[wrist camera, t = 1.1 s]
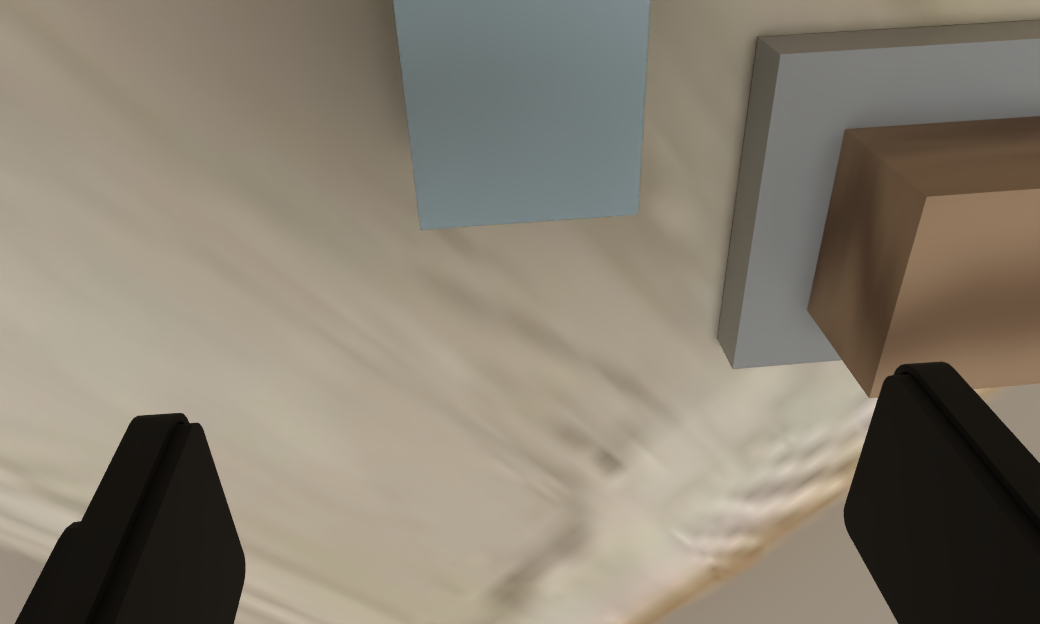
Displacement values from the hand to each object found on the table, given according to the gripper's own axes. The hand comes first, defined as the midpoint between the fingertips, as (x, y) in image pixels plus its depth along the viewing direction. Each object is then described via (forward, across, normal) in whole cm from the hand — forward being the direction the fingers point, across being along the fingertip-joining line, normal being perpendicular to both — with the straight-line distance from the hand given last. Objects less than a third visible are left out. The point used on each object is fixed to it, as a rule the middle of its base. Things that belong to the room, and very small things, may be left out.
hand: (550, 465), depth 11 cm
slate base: (+17, -15, +5) cm, 23 cm away
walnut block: (+15, -15, +5) cm, 22 cm away
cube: (+17, -1, -1) cm, 17 cm away
